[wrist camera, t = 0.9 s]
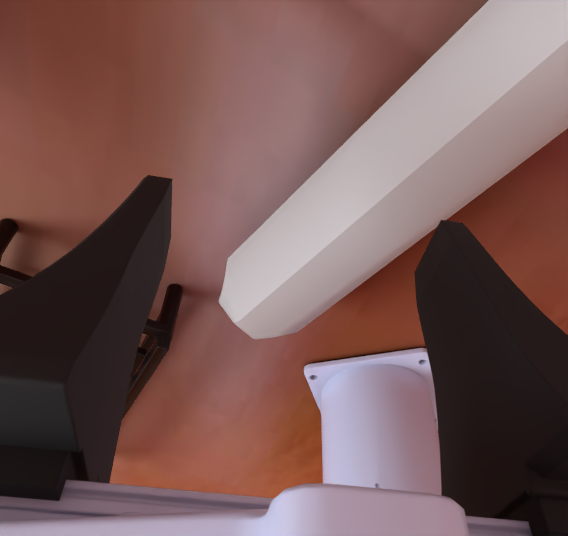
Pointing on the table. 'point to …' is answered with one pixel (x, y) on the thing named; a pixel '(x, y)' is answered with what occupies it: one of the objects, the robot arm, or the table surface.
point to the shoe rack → (155, 330)
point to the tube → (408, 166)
